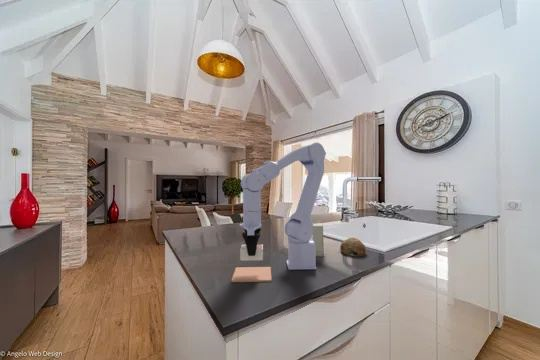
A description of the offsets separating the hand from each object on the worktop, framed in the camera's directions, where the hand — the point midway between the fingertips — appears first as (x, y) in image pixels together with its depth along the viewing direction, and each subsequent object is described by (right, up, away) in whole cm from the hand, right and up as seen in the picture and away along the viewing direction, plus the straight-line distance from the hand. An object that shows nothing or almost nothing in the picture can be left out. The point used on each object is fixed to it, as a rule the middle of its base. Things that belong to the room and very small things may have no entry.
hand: (252, 252), depth 71 cm
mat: (0, -7, 0) cm, 7 cm away
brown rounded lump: (+40, -7, +22) cm, 47 cm away
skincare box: (+26, -7, +20) cm, 33 cm away
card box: (0, -2, 0) cm, 2 cm away
